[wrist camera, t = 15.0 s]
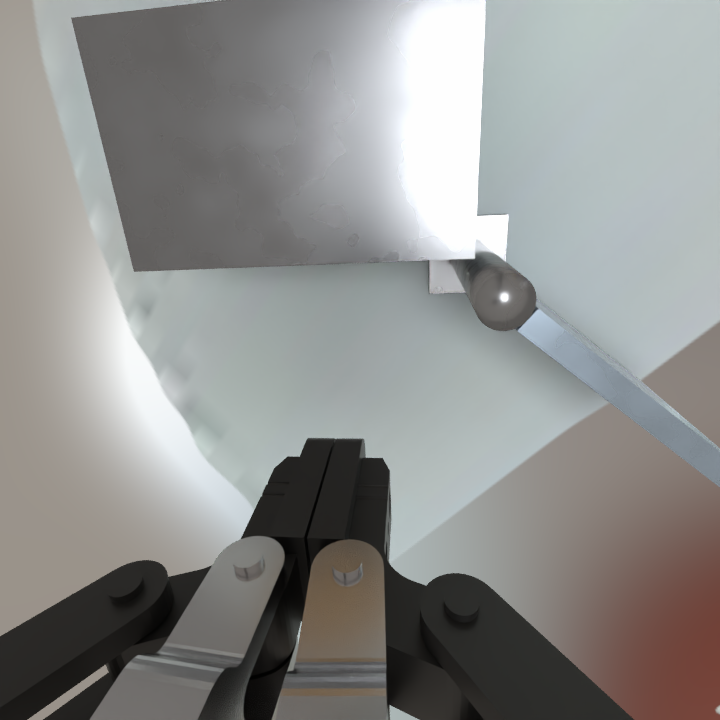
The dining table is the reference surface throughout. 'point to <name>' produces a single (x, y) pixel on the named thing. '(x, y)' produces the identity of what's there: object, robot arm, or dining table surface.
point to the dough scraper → (577, 354)
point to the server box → (294, 132)
